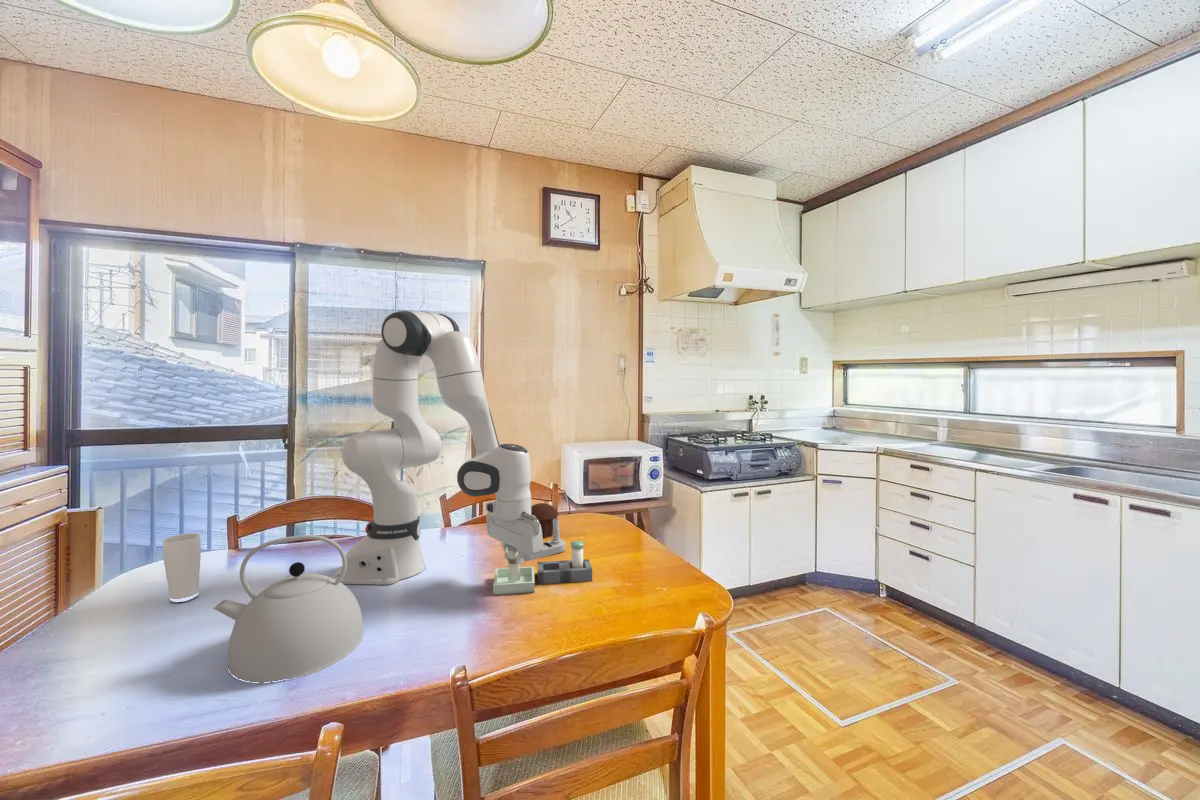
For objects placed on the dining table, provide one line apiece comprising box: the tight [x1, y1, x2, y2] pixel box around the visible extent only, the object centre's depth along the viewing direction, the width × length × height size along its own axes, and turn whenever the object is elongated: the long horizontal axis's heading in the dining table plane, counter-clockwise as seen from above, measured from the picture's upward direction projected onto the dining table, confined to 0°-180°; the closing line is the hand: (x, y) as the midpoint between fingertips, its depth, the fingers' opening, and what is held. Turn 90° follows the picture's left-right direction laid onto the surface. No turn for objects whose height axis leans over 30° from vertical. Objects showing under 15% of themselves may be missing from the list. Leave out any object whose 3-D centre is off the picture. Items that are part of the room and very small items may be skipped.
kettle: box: [212, 534, 364, 683], centre depth 95 cm, size 25×23×23 cm
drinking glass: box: [162, 532, 202, 599], centre depth 115 cm, size 7×7×15 cm
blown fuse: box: [507, 545, 521, 582], centre depth 123 cm, size 3×3×9 cm
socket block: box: [537, 558, 593, 585], centre depth 128 cm, size 14×7×3 cm, turn 99°
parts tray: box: [492, 565, 536, 596], centre depth 123 cm, size 10×10×2 cm
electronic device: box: [524, 518, 567, 561], centre depth 144 cm, size 5×10×15 cm
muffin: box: [531, 502, 559, 539], centre depth 162 cm, size 12×11×10 cm
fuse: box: [570, 540, 585, 569], centre depth 129 cm, size 3×3×9 cm
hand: (514, 561), depth 123 cm, fingers closed on blown fuse, 3 cm apart
